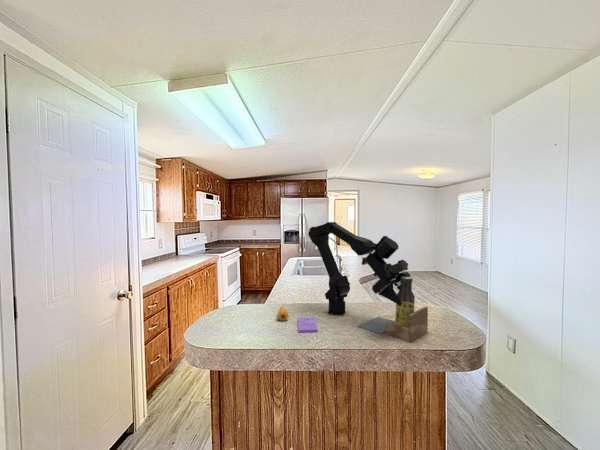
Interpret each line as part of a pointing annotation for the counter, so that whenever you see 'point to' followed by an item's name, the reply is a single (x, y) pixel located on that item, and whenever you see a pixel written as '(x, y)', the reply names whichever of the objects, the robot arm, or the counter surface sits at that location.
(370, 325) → the charcoal mat
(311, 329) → the sponges
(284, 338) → the counter surface
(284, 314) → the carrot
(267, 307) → the counter surface
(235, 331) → the counter surface
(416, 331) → the bottle rack
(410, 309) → the sauce bottle
